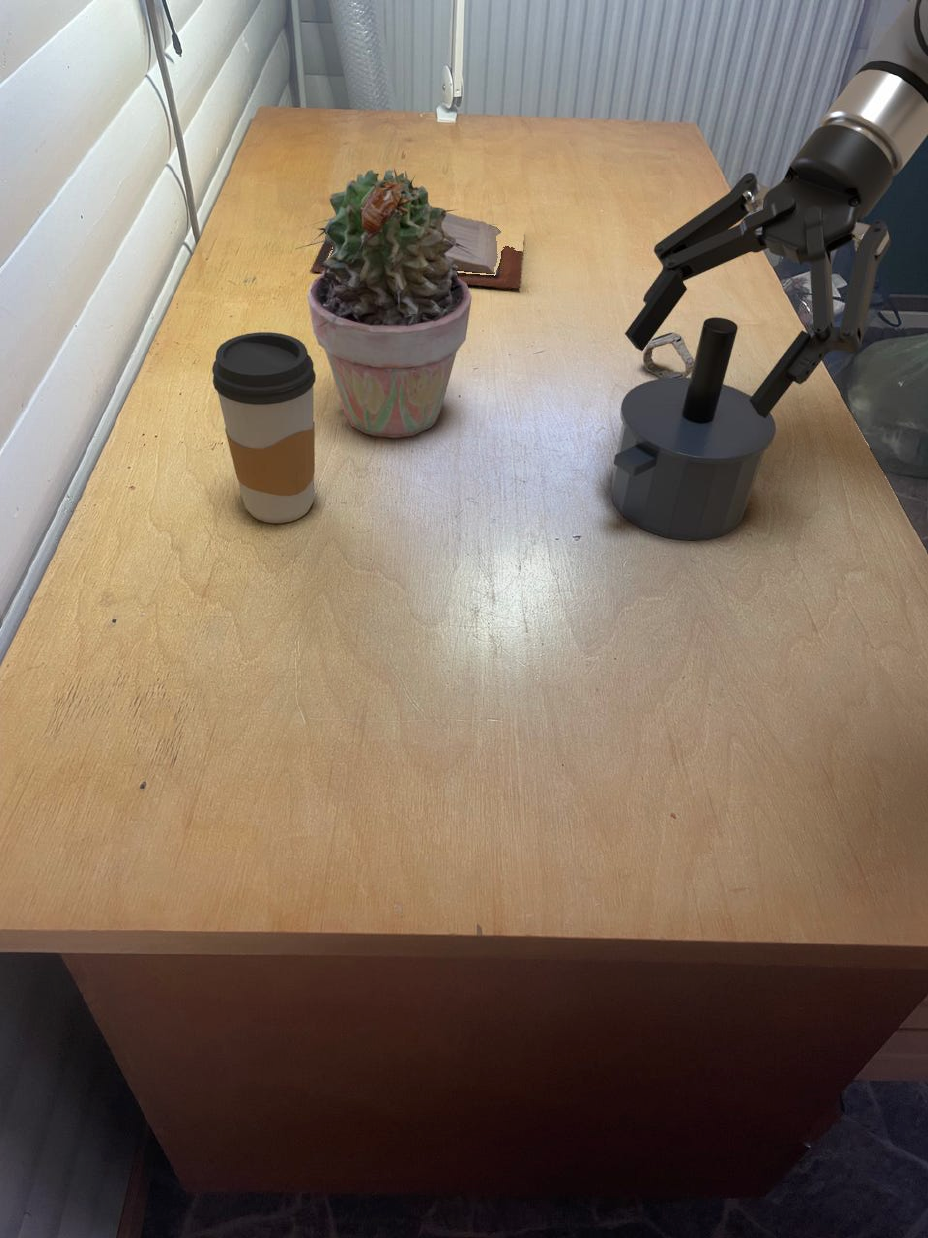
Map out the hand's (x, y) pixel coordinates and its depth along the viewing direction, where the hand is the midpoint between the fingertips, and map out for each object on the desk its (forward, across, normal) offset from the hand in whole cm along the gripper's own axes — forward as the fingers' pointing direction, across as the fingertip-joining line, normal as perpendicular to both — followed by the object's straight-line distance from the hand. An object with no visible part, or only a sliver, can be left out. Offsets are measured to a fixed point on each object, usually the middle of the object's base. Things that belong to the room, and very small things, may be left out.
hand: (692, 374), depth 76 cm
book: (-2, +60, -22) cm, 64 cm away
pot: (+8, 0, -11) cm, 14 cm away
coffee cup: (+30, +21, +10) cm, 38 cm away
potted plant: (+17, +29, -2) cm, 34 cm away
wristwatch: (-4, +17, -24) cm, 29 cm away
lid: (+2, 0, -5) cm, 6 cm away
